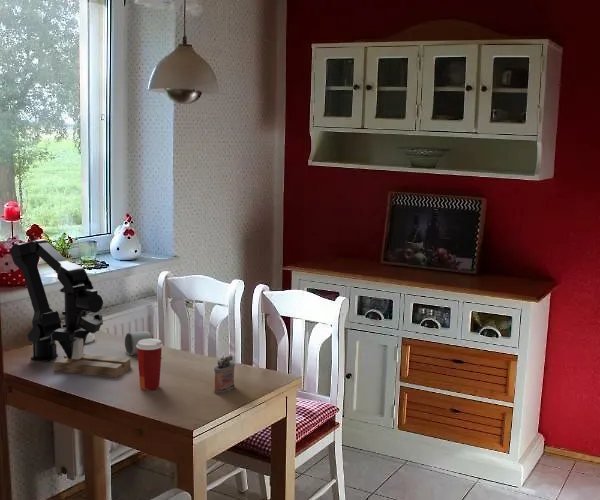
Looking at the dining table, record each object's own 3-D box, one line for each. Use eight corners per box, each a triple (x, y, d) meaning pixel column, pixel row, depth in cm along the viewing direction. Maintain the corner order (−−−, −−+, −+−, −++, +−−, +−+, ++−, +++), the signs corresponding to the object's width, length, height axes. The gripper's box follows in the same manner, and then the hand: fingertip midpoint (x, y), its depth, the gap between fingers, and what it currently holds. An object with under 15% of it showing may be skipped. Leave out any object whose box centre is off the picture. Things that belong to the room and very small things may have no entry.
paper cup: (167, 384, 224) (167, 339, 222) (154, 393, 217) (154, 346, 215) (144, 381, 227) (144, 336, 224) (131, 389, 219) (130, 343, 217)
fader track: (54, 370, 234) (54, 361, 233) (70, 361, 243) (70, 351, 243) (116, 377, 229) (116, 367, 229) (130, 367, 239) (130, 357, 238)
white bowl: (60, 343, 263) (60, 333, 263) (73, 335, 273) (73, 326, 272) (87, 345, 262) (87, 335, 261) (99, 337, 271) (99, 328, 271)
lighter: (220, 395, 217) (220, 362, 215) (211, 392, 219) (211, 359, 217) (237, 387, 224) (237, 355, 222) (228, 385, 225) (228, 353, 224)
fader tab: (67, 362, 236) (66, 339, 235) (72, 359, 239) (71, 337, 238) (78, 363, 235) (78, 340, 234) (83, 361, 238) (83, 338, 237)
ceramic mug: (155, 354, 254) (155, 332, 252) (133, 357, 249) (132, 335, 248) (142, 346, 262) (142, 325, 261) (120, 350, 257) (119, 328, 256)
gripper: (83, 316, 224) (84, 366, 226) (111, 302, 242) (112, 349, 244) (49, 313, 226) (50, 363, 228) (80, 300, 244) (81, 346, 246)
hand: (75, 355), depth 237 cm, fingers open, 6 cm apart
